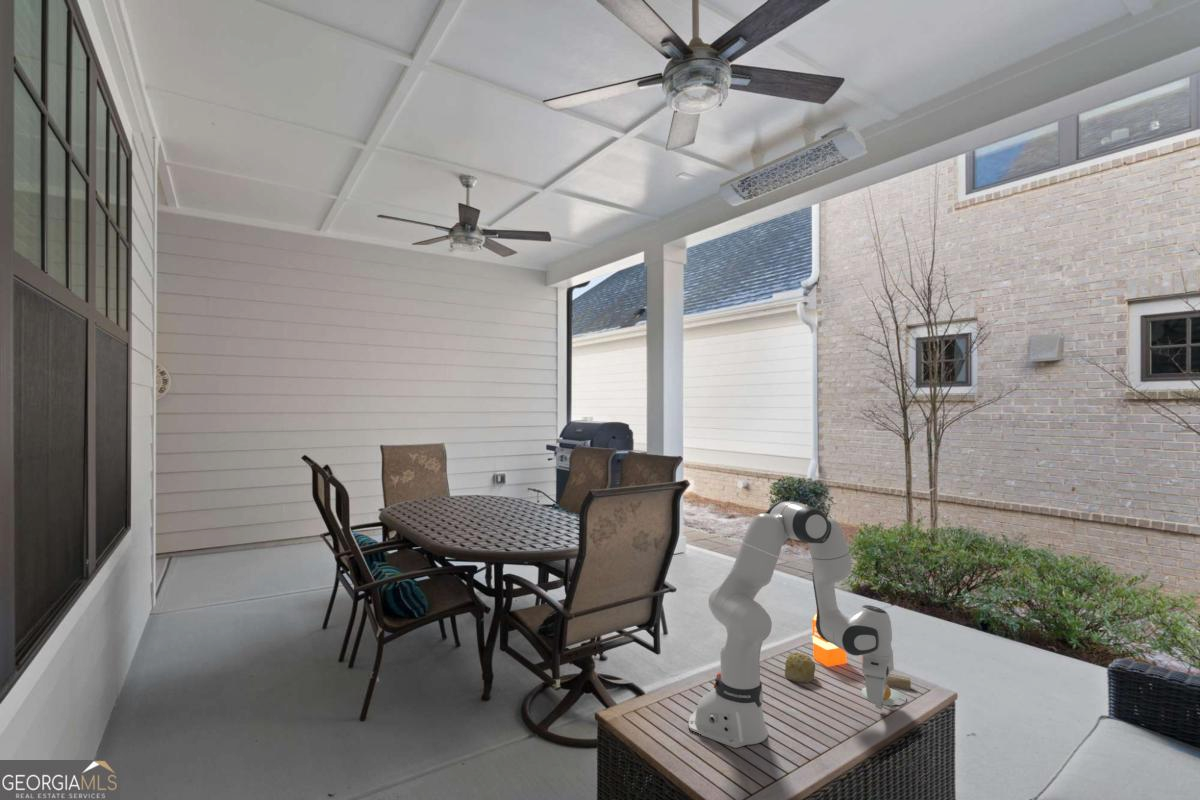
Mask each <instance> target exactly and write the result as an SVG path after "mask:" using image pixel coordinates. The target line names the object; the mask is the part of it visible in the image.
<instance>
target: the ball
mask: <svg viewBox="0 0 1200 800" xmlns="http://www.w3.org/2000/svg"><path fill="white" fill-rule="evenodd" d="M890 688H891V687H890V685H887V686H886V690H885V694H884V698H883V700H886V699H888V698H889V697H890V695H891V690H890Z"/></svg>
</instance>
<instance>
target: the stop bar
mask: <svg viewBox="0 0 1200 800" xmlns="http://www.w3.org/2000/svg"><path fill="white" fill-rule="evenodd" d="M863 680H864V681H865V674H863ZM911 682H912V681H911V677H906V676H902V675H897V674H892V673H889V675H888V682H887V685H888V686H892V687H896V688H901V689H905V688H906V689H905V690H909V689H912V686H911V685H912V683H911Z"/></svg>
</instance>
